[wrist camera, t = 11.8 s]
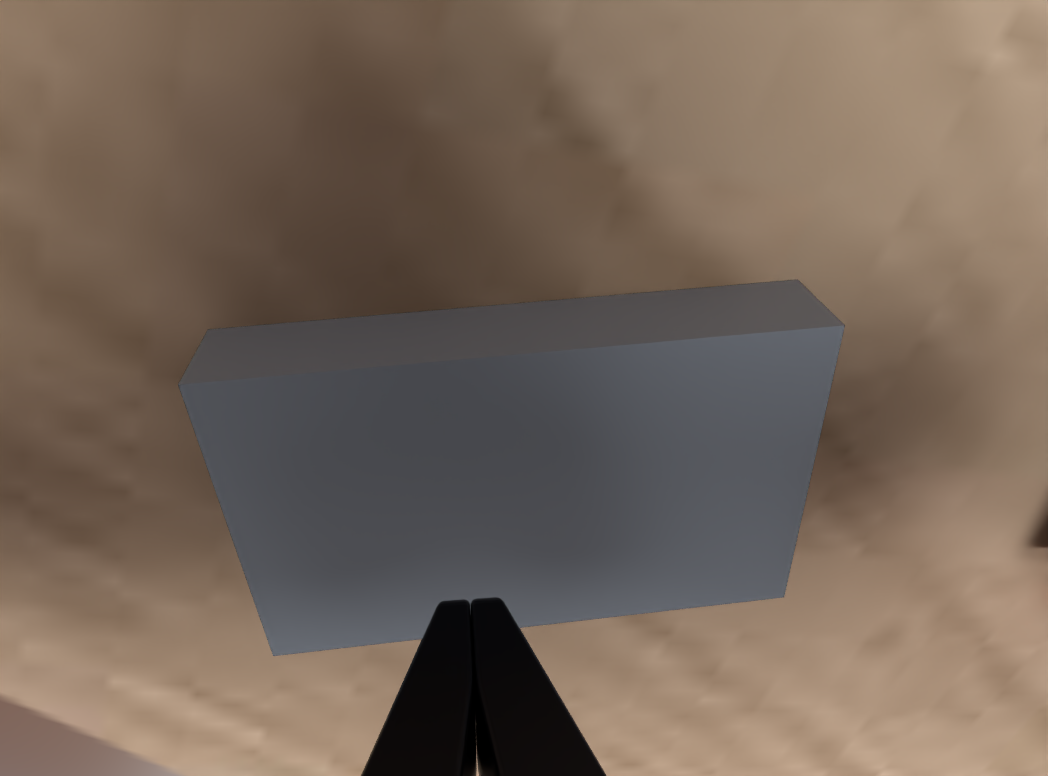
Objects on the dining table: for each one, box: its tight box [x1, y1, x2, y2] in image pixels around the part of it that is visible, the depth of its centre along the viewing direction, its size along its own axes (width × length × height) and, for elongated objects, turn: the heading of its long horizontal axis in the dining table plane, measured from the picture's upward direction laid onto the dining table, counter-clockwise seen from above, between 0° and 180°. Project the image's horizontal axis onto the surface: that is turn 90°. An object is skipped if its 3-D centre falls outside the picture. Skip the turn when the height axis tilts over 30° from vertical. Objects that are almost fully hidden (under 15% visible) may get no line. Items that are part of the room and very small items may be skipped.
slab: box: [178, 280, 845, 656], centre depth 12 cm, size 9×6×2 cm, turn 92°
